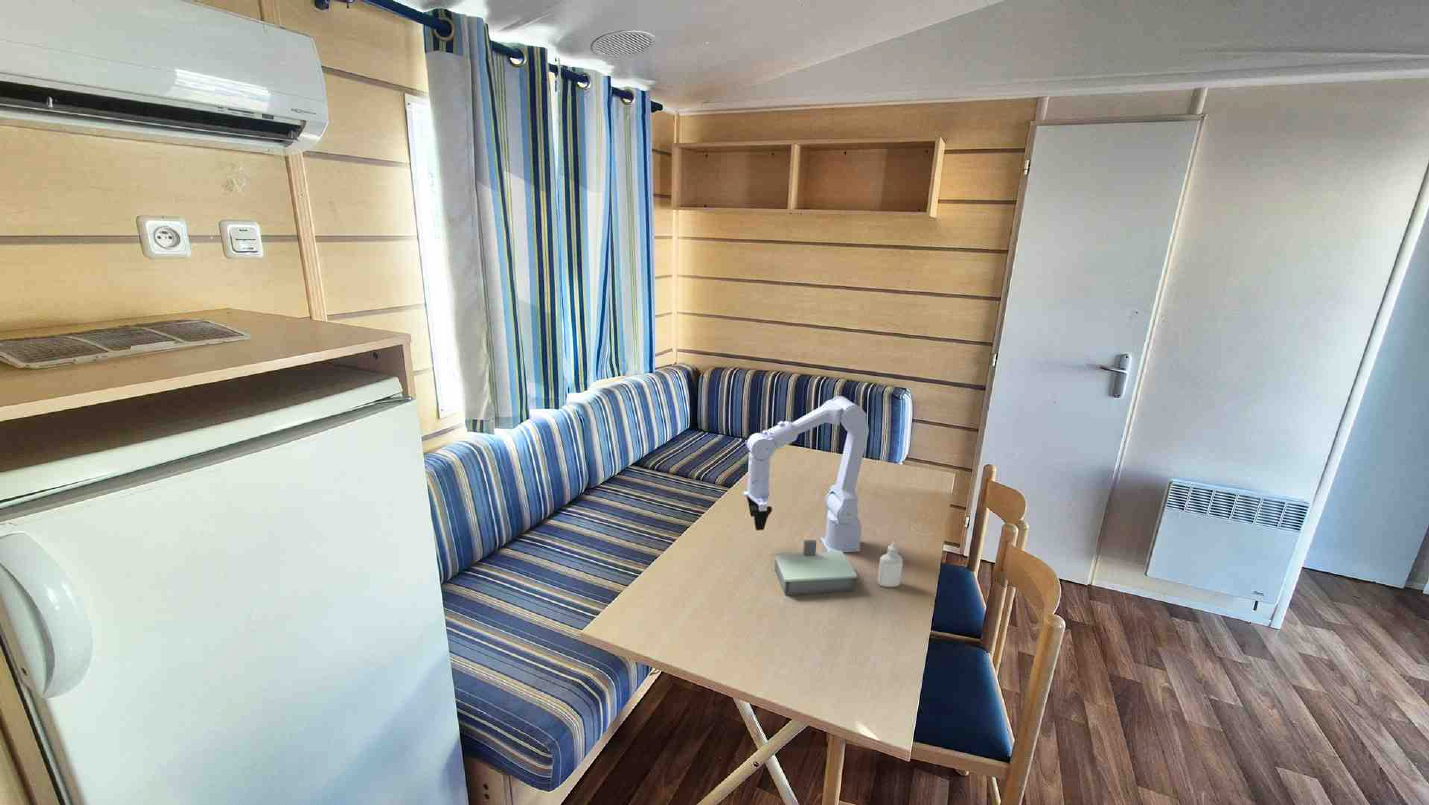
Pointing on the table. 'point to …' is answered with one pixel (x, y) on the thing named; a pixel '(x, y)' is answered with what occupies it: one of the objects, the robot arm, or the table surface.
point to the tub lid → (814, 565)
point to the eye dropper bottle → (890, 568)
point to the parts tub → (815, 585)
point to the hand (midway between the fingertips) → (757, 522)
